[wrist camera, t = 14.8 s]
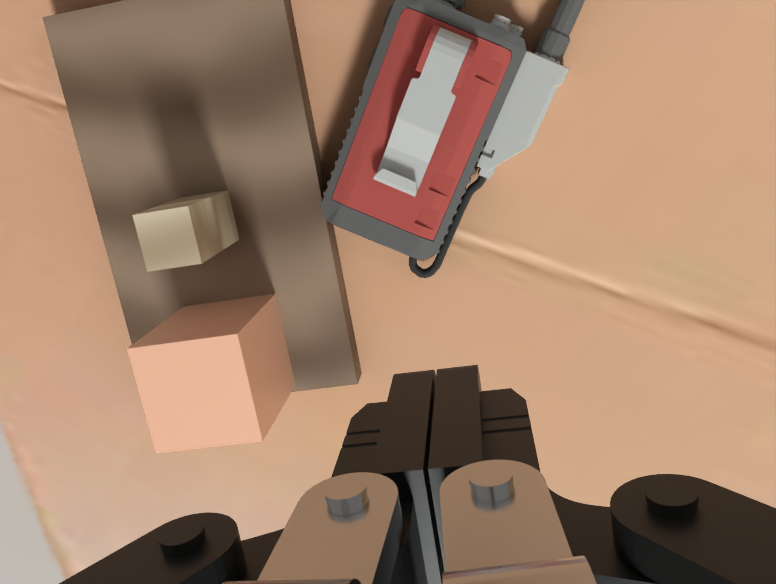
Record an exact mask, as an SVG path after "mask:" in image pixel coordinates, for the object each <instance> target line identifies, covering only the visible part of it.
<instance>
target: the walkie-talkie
mask: <svg viewBox="0 0 776 584" xmlns="http://www.w3.org/2000/svg"><path fill="white" fill-rule="evenodd" d="M584 1H585V0H560V3H559V5H558V7H557V9H556V12H555V14H554V16H553V19H552V21H551V23H550V26H549V28H548V29H545V30H544V32H543V35H542V37H541V39H540V42H539V44H538V46H537V48H536V51H535V53H532V52H529V51H527V50H526V45H525V40H524V39H523V38H522V37H521V35H522V33H523V31H524V29H523V28H522V27H520V26H517V25H515V24H512V23H510V22H511V20H510V19H508V18H506V17H503V16H501V15H498V14H495V16H494V18H493V20H492V22H489V23H486V22H484V21H481V20H479V19H477V18H474V17H472V16H469V15H467V14H465V13H462V12H460V11H457V10H456V9H462V8H463V6H464V4H465V2H466V0H395V1H394V4H393V7H392V6H390V8H389V11H388V13H387V16H386V19H385V22H384V31H383V34H382V36H381V39H380V42H379V44H378V47H377V48H376V49H374V51H373V54H372V57H371V59H370V62H369V65H368V68H370V69H369V71H368V74H367V77H366V79H365V82H364V85H363V87H362V89H364V90H363V93H362V96H359V98H358V100H359V104H358V106H357V107H355V109H354V111H355V115H354V117H353V118H351V120H350V122H351V125H350V128H348V129H347V131H346V132H347V136H346V139H343V142H342V143H343V147H342V149H341V150H339V152H338V153H339V154H340V155H339V158H338V160H336V161H335V163H334V164H335V165H336V166H335V168H334V170H332V171H331V175H332V176H331V179H330V180H329V181H328V182H327V185H328V187H327V190H325V191H324V193H323V195H324V198H323V200H322V201H320V205H321V208H322V210H323V213H324V216H325V219H326V221H328V222H330V223H331V224H333V225H336V226H338V227H340V228H343V229H345V230H348V231H350V232H352V233H355V234H357V235H360V236H362V237H364V238H367V239H369V240H372V241H374V242H376V243H379V244H381V245H384V246H386V247H389V248H391V249H393V250H396V251H398V252H401V253H403V254H405V255H408V256H410V258H409V266H410V269H411V271H412V272H413V273H415V274H416V275H417V276H419V277H422V278H427V277H430V276H432V275H433V274H435V273H436V271H437V270H438V269H439V268H440V266H441V264H442V262H443V259H444V257H445V255H446V252H447V250H448V248H449V245H450V243H451V241H452V238H453V236H454V234H455V231H456V229H457V227H458V225H459V222H460V220H461V218H462V215H463V213H464V211H465V209H466V207H467V205H468V202H469V200H470V198H471V196H472V195H473V193H474V192H475V191H476V190H478V189H479V188H480V187H482V185H483V184H484V182H485V181H486V178H487V179H490V180H491V177H492V175H493V173H494V171H495V168H496V166H497V165H499V164H500V163H502V162H504V161H506V160H507V159H509V158H511V157H512V156H514V155H516V154H517V153H519V152H521V151H523V150H524V149H526V148H528V147H529V146H531V145H532V142H533V140H534V138H535V136H536V134H537V131H538V129H539V127H540V125H541V123H542V121H543V118H544V116H545V114H546V112H547V110H548V107H549V105H550V103H551V101H552V99H553V96H554V94H555V92H556V90H557V88H558V86H559V85H561V84H562V83H563V82H564V80H565V77H566V75H567V73H568V70H569V68H567V67H565V66H563V65H560V62H561V60H562V58H563V55H564V53H565V51H566V48H567V46H568V44H569V41H570V38H569V35H570V33H571V30H572V28H573V26H574V24H575V21H576V19H577V17H578V15H579V12H580V10H581V8H582V6H583V3H584ZM475 164H476V166H478V167H480V169H479V171H478V175H479V177H478V179H477V180H476V181H475V182H473V183H472V184H471V185H470V186H469V187H468V188H467V190H466V185H467V183H470V181H471V178H470V176H471V174H472V173H474V171H475ZM462 194H464V195H463V196H462ZM458 204H459V205H458ZM454 214H455V215H454ZM453 215H454V217H453ZM449 225H450V226H449ZM445 234H446V235H445ZM441 244H442V245H441ZM437 253H438V254H437ZM435 254H437V256H436V259H435V261H434V262H433V264H432V265H431V266H430V267H429V268H427V269H422V268H421V267H419V266H418V265H417V263H416V262H417V259H419V260H425V259H427V258H429V257H431V256H433V255H435Z"/></svg>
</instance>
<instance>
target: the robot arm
mask: <svg viewBox="0 0 776 584" xmlns="http://www.w3.org/2000/svg"><path fill="white" fill-rule="evenodd" d="M59 584H776V508H773V507H771V506H768V505H766V504H763V503H761V502H758V501H756V500H753V499H751V498H748V497H746V496H743V495H741V494H738V493H736V492H733V491H731V490H728V489H726V488H723V487H721V486H718V485H716V484H713V483H711V482H708V481H705V480H702V479H699V478H695V477H691V476H685V475H676V474H657V475H649V476H644V477H639V478H636V479H633V480H631V481H629V482H627V483H625V484H623V485H622V486H620V487H619V488H618V489H617V490H616V491H615V492H614V494H613V495H612V497H611V501H610V507H603V506H594V505H588V504H582V503H578V502H574V501H571V500H568V499H565V498H563V497H561V496H559V495H557V494H556V493H554V492H553V491H551V490H550V489H549V488H548V486H547V484H546V481H545V479H544V477H543V475H542V474H541V473H540V468H539V463H538V458H537V453H536V449H535V444H534V439H533V434H532V430H531V424H530V419H529V414H528V409H527V404H526V400H525V399H524V398H523V397H521V396H520V395H519V394H518V393H516V392H515V391H514V390H512V389H511V388H509V389H500V390H491V391H481V383H480V376H479V370H478V365H472V366H463V367H454V368H445V369H437V375H436V374H435V371H434V370H428V371H419V372H410V373H401V374H394V376H393V379H392V383H391V388H390V392H389V396H388V400H387V402H379V403H369V404H366V405H365V406H364V407H363V408H362V409H361V410H360V411H359V412H358V413H356V414H355V415H354V416H353V417H352V418H351V421H350V424H349V427H348V430H347V436H345V439H344V442H343V445H342V449H341V450H340V453H339V456H338V459H337V462H336V465H335V468H334V471H333V474H332V477H331V478H329V479H327V480H324V481H322V482H320V483H318V484H317V485H315V486H313V487H312V488H310V489H309V490H308V491H307V492H306V493H305V494H304V495H303V496H302V497H301V498H300V500H299V501H298V503H297V505H296V507H295V509H294V511H293V513H292V515H291V517H290V519H289V521H288V522H287V524H286V526H285V528H284V529H281V530H278V531H275V532H272V533H268V534H264V535H261V536H257V537H254V538H250V539H247V540H243V541H241V539H240V535H239V531H238V527H237V524H236V522H235V521H234V520H233V519H232V518H230V517H229V516H226V515H224V514H219V513H198V514H192V515H188V516H184V517H181V518H178V519H175V520H172V521H170V522H168V523H165V524H163V525H162V526H160V527H158V528H156V529H154V530H152V531H151V532H149V533H147V534H145V535H144V536H142V537H140V538H138V539H137V540H135V541H133V542H131V543H130V544H128V545H126V546H124V547H123V548H121V549H119V550H117V551H116V552H114V553H112V554H110V555H109V556H107V557H105V558H103V559H102V560H100V561H98V562H96V563H95V564H93V565H91V566H89V567H88V568H86V569H84V570H82V571H81V572H79V573H77V574H75V575H73V576H72V577H70V578H68V579H66V580H65V581H63V582H61V583H59Z"/></svg>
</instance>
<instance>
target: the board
mask: <svg viewBox="0 0 776 584" xmlns="http://www.w3.org/2000/svg"><path fill="white" fill-rule="evenodd" d="M43 21H44V25H45V28H46V32H47V35H48V39H49V43H50V46H51V50H52V54H53V57H54V61H55V65H56V68H57V72H58V76H59V79H60V83H61V87H62V90H63V94H64V98H65V101H66V105H67V109H68V112H69V116H70V119H71V123H72V127H73V130H74V134H75V138H76V141H77V145H78V149H79V152H80V156H81V160H82V163H83V167H84V171H85V174H86V178H87V182H88V185H89V189H90V193H91V196H92V200H93V203H94V207H95V211H96V214H97V218H98V222H99V225H100V229H101V233H102V236H103V240H104V244H105V247H106V251H107V255H108V258H109V262H110V266H111V269H112V273H113V277H114V280H115V284H116V287H117V291H118V295H119V298H120V302H121V306H122V309H123V313H124V317H125V320H126V324H127V328H128V331H129V335H130V339H131V342H132V345H133V344H134V343H135V342H137V341H138V340H139V339H141V338H142V337H143V336H145V335H146V334H147V333H149V332H150V331H151V330H153V329H154V328H155V327H157V326H158V325H159V324H161V323H162V322H163V321H165V320H166V319H167V318H169V317H170V316H171V315H172V314H174V313H175V312H176V311H178V310H179V309H180V308H182V307H185V306H192V305H199V304H206V303H213V302H220V301H227V300H234V299H241V298H248V297H255V296H262V295H269V294H276V298H277V303H278V307H279V312H280V316H281V321H282V326H283V330H284V335H285V339H286V344H287V349H288V353H289V358H290V362H291V367H292V372H293V376H294V381H295V386H294V388H293V390H292V391H291V392H295V391H303V390H311V389H320V388H328V387H336V386H344V385H353V384H358V382H359V379H360V376H361V368H360V363H359V358H358V353H357V347H356V342H355V337H354V332H353V327H352V321H351V316H350V311H349V306H348V300H347V295H346V290H345V285H344V280H343V274H342V269H341V264H340V259H339V253H338V248H337V243H336V238H335V233H334V227H333V224H331V223H330V222H328V221H326V219H325V216H324V213H323V210H322V208H321V205H320V201H322V200H323V198H324V195H323V193H324V191H325V190H326V186H325V180H324V175H323V170H322V165H321V159H320V154H319V149H318V144H317V139H316V133H315V128H314V123H313V118H312V112H311V107H310V102H309V97H308V92H307V86H306V81H305V76H304V71H303V65H302V60H301V55H300V50H299V45H298V39H297V34H296V29H295V24H294V18H293V13H292V8H291V3H290V0H123V1H118V2H114V3H109V4H104V5H99V6H95V7H90V8H85V9H80V10H76V11H71V12H66V13H61V14H56V15H52V16H47V17H43Z"/></svg>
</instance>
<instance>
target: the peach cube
mask: <svg viewBox="0 0 776 584" xmlns="http://www.w3.org/2000/svg"><path fill="white" fill-rule="evenodd" d="M127 351H128V354H129V358H130V361H131V365H132V369H133V372H134V376H135V380H136V383H137V387H138V390H139V394H140V398H141V401H142V405H143V408H144V412H145V416H146V419H147V423H148V427H149V430H150V434H151V437H152V441H153V445H154V448H155V452H156V453H162V452H171V451H180V450H189V449H198V448H207V447H216V446H224V445H233V444H242V443H251V442H260V441H263V440H264V438H265V436H266V434H267V433H268V431H269V429H270V428H271V426H272V424H273V422H274V421H275V419H276V417H277V415H278V414H279V412H280V410H281V409H282V407H283V405H284V403H285V402H286V400H287V398H288V397H289V395H290V393H291V391H292V390H293V388H294V386H295V381H294V376H293V372H292V367H291V362H290V358H289V353H288V349H287V344H286V339H285V335H284V330H283V326H282V321H281V316H280V312H279V307H278V303H277V298H276V294H269V295H262V296H255V297H248V298H241V299H234V300H227V301H220V302H213V303H206V304H199V305H192V306H185V307H182V308H180V309H179V310H178V311H176V312H175V313H174V314H172V315H171V316H170V317H169V318H167V319H166V320H165V321H163V322H162V323H161V324H159V325H158V326H157V327H155V328H154V329H153V330H151V331H150V332H149V333H147V334H146V335H145V336H143V337H142V338H141V339H139V340H138V341H137V342H135V343H134V344H133V345H131V346H130V347H129V348H127Z"/></svg>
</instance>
